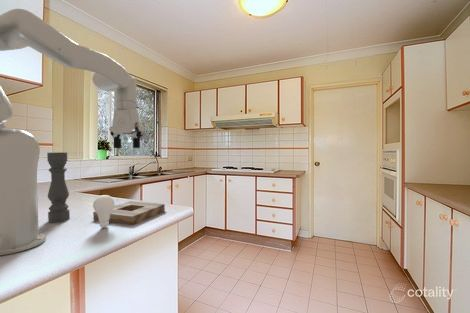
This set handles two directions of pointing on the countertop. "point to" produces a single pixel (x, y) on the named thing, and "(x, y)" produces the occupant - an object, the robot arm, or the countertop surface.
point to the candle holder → (58, 188)
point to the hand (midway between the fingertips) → (126, 148)
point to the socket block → (133, 212)
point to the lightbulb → (103, 209)
